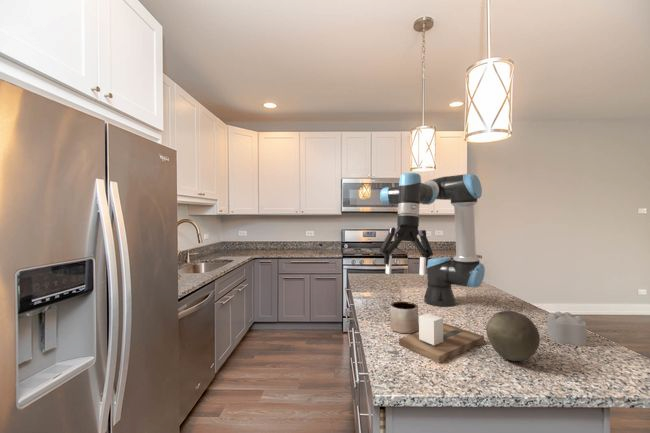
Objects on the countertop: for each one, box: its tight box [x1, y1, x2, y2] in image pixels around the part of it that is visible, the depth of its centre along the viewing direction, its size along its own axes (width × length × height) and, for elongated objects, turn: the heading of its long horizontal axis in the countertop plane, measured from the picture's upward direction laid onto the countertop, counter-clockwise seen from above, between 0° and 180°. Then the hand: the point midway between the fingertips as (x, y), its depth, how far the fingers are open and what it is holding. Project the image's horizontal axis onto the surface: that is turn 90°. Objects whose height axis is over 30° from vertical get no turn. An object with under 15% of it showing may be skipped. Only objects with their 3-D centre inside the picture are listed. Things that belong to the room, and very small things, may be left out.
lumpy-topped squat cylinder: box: [546, 311, 588, 347], centre depth 109 cm, size 10×13×9 cm
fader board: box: [398, 322, 485, 364], centre depth 105 cm, size 26×16×2 cm, turn 124°
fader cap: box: [418, 313, 444, 345], centre depth 102 cm, size 5×6×8 cm
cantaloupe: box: [486, 310, 541, 362], centre depth 93 cm, size 14×14×15 cm
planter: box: [389, 301, 419, 335], centre depth 120 cm, size 11×11×10 cm
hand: (405, 274), depth 107 cm, fingers open, 13 cm apart
